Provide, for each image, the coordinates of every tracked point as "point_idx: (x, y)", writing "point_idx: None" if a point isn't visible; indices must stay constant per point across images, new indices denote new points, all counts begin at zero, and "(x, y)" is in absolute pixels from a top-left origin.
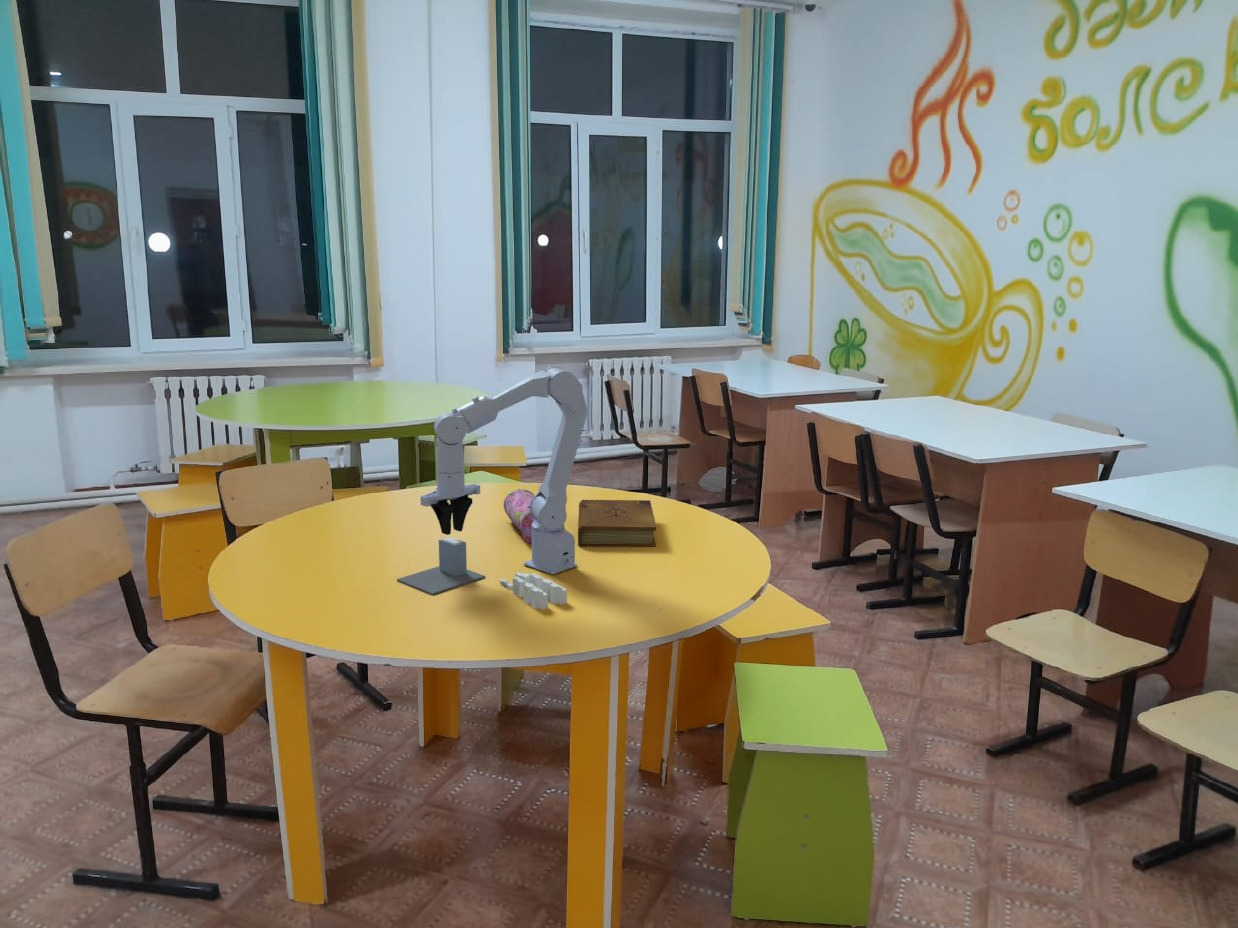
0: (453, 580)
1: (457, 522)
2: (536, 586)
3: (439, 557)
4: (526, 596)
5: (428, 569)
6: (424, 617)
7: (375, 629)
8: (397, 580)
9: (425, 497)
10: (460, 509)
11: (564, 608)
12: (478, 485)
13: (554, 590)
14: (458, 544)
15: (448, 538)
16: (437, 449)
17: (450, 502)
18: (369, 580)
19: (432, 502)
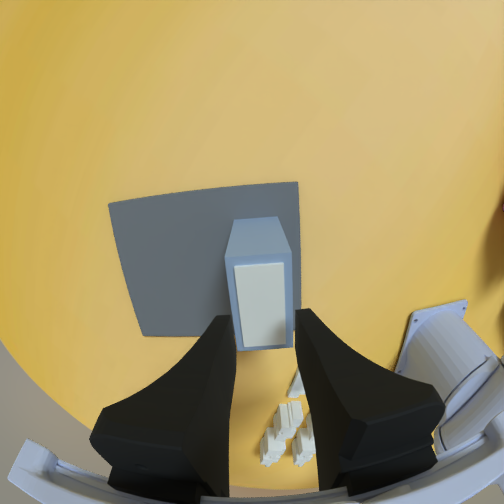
0: (220, 307)
1: (303, 361)
2: (307, 427)
3: (231, 233)
4: (265, 439)
5: (212, 190)
6: (106, 382)
7: (46, 361)
8: (110, 205)
9: (39, 501)
10: (318, 440)
11: (289, 452)
12: (498, 477)
13: (293, 460)
14: (255, 349)
15: (263, 282)
16: None
17: (339, 403)
18: (67, 158)
19: (91, 486)
